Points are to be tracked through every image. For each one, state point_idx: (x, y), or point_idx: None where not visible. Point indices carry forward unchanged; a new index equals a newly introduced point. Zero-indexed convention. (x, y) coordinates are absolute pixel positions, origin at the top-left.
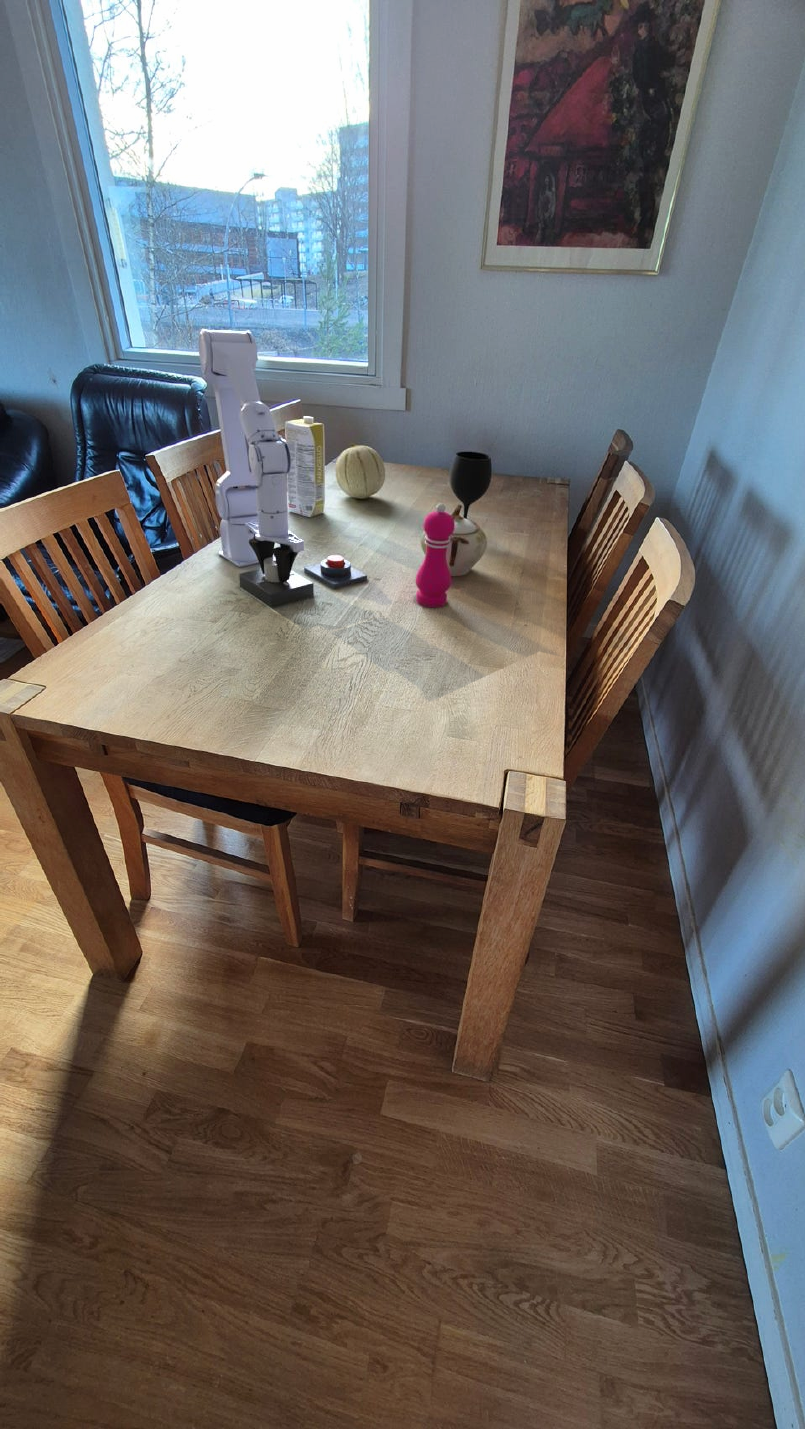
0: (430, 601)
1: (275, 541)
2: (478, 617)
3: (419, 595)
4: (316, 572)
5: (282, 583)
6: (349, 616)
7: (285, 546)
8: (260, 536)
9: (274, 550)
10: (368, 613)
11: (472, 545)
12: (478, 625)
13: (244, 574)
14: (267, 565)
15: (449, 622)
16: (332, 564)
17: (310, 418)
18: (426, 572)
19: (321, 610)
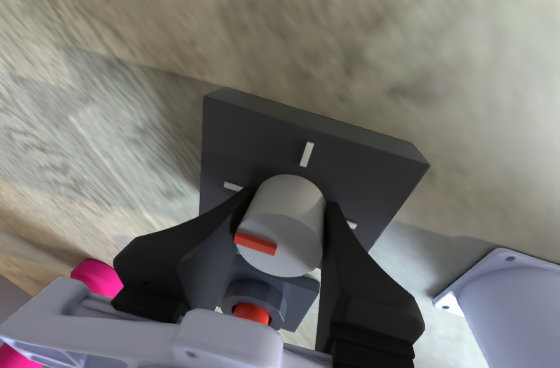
0: (76, 267)
1: (126, 326)
2: (40, 261)
3: (91, 274)
4: (279, 283)
5: (246, 185)
6: (101, 172)
7: (130, 306)
8: (200, 358)
9: (154, 259)
10: (100, 201)
11: None
12: (18, 244)
13: (404, 171)
14: (277, 209)
15: (34, 235)
16: (243, 309)
17: None
18: None
19: (150, 162)
